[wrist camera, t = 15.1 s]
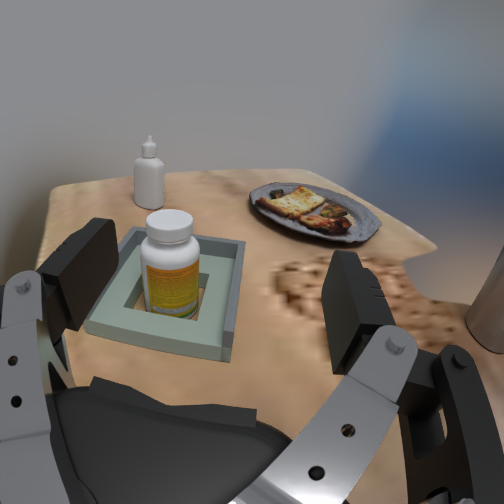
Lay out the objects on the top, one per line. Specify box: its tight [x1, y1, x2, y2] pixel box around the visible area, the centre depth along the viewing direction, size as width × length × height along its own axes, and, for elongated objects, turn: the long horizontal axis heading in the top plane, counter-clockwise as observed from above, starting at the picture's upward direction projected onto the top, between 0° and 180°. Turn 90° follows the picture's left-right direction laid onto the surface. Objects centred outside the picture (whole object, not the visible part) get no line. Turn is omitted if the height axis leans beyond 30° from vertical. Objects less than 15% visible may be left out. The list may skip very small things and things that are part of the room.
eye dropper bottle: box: [134, 136, 164, 210], centre depth 45 cm, size 4×6×12 cm
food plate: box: [249, 182, 382, 243], centre depth 53 cm, size 25×23×4 cm
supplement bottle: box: [140, 209, 200, 319], centre depth 26 cm, size 5×5×10 cm
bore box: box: [83, 226, 246, 363], centre depth 29 cm, size 14×14×4 cm
